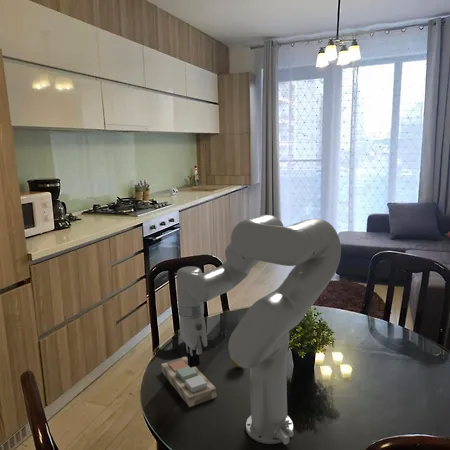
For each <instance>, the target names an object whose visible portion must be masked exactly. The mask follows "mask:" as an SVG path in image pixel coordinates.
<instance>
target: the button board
mask: <svg viewBox="0 0 450 450" xmlns="http://www.w3.org/2000/svg"><path fill="white" fill-rule="evenodd" d="M181 360H183V361H184V362H185V363H186V364H187V365H188V357H187V356H183V357H180V358H177V359H173V360H169V361H166V362H164V363H160V364H161V373H163V375H164V377H166V379H167V380H168V382H169V383H170V384H171V386H172V387H173V388H174V389H175V391H176V392H177V393H178V395H179V396H180V398H182V400H183V401H184V402H185V403H186V404H187V407H188V408H191V407H194V406H196V405H199V404H202V403H205V402H208V401H210V400H214V399H216V398H217V388H216V386H215V385H214V384H213V383H212V382H211V381H210V380H209V379H208V378H207V377H206V376H205V375H204V374H203V373H202V372H201V371H200V370H199V369H198V367H197V366H195V367H193V368H194V369H195V370H196V372H197V376H199V375H200V376H201V377H202V378H203V379H204V380H205V381H206V382H207V388H206V389H203V390H200V391H197V392H194V393H191V392H190V391H189V390H188V388H187V387H186V384H185V382H182V381H181V380H180V379H179V378H178V376H177V371H176V372H173V370H172V369H171V368H170V367H169V364H171V363H175V362H178V361H181Z"/></svg>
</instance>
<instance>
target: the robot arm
mask: <svg viewBox="0 0 450 450" xmlns="http://www.w3.org/2000/svg"><path fill="white" fill-rule="evenodd" d="M337 232H338V231H336V229H335V228H334V226H333V225H332V224H331V223H330V222H328V221H326V220H324V219H320V218H310V219H309V218H308V219H305V220H301V221H299V222H295V223H293V224H290V225H288V226H285V225H284V224H283V223H282V221H281V219H279V218H277V216H274V215H271V214H262V215H257V216H254V217H251V218H248V219H244V220H241V221H240V222H238V223H237V224H236V225H235V226H234V228H233V229H232V232H231V236H230V243H229V244H228V245H227V246H226V248H225V251H224V253H225V254H224V255H225V256H224V257H225V260H226V261H224V262H223V263H222V264H221V265H219V266H218V267H215V268H213V269H211V270H207V271H205V272H203V271H202V269H201V268H200V267H197V266H194V265H193V266H190V265H189V266H183V267H181V268H179V269H178V270H176V289H177V290H176V291H177V309H178V311H177V312H178V313H177V314H178V316H179V334H180V338H181V340H182V341H183V342H184V344H185V346H186V347H185V348H186V349H185V350H186V353H187V354H186V355H187V356H186V357H187V358H188V366H189V367H190V368H192V367H198V366H200V365H201V363H200V362H201V361H200V355H202V354H203V347H204V348H206V347H207V346H208V337H207V336H208V335H207V328H206V327H207V326H206V320H205V316H204V314H205V307H204V306H205V304H204V303H205V302H208V301H211V300H213V299H215V298H217V297H219V296H222V295H223V294H226V293H228V292H229V291H232V290H233V289H234V288H235V287H236V286H238V285H239V284H240V283H241V282H243V280H245V279H246V278H247V277H248V275H249V274H250V272H251V270H252V269H253V268H254V267H256V265H258V264H259V263H260V262H264V263H269V264H275V265H278V266H279V265H280V266H283V267H284V266H285V267H293V268H292V269H291V270H290V272H289V273H288V274H287V277H286V278H285V279H284V280H283V282H282V283H281V284H280V285H279V286H278V288H276V289H275V290H274V291H272V292H270V293H268V294H267V295H265V296H263V297H261V298H259V299H258V300H257V301H255V302H253V304H252V305H251V306H250V307H249V308H248V309H247V311H246V312H245V313H244V315H243V317H242V318H241V320H240V321H239V323H238V324H237V325H236V326H235V328H234V329H233V330H232V333H231V335H230V337H229V339H228V353H229V356H230V359H231V358H232V360H233V361H234V362H235V363H236V364H237V365H238V366H240V368H244V369H249V389H250V390H249V391H250V393H249V395H250V415H249V417H247V419H246V422H245V431H246V433H247V434H248V436H249V437H250V438H251V439H253V440H254V441H256V442H258V443H261V444H267V445H276V444H279V443H283V445H288V444H289V443H290V440H291V438H292V437H293V436H294V435H295V432H294V423H293V420H292V418H290V416H289V415H288V395H287V394H288V393H287V391H288V390H287V389H288V388H287V386H288V385H287V384H288V383H287V382H288V381H287V364H288V363H287V361H288V352H289V351H288V350H289V343H290V331H291V330H292V329H294V328H295V327H297V326H298V325H299V324H300V323H301V321H302V320H303V319H304V318H305V316H306V315H307V312H309V310H310V309H311V307H312V306H313V305H314V304H315V303H316V301H317V300H318V298H319V297H320V296H321V294H322V293H323V292H324V291H325V289H326V287H328V285H329V283H330V282H331V281H332V279H333V278H334V276H335V274H336V272H337V270H338V268H339V265H340V263H341V262H340V261H341V256H342V255H341V254H342V246H341V241H340V240H341V239H340V237H339V234H338V233H337ZM202 346H203V347H202Z"/></svg>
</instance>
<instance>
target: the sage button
mask: <svg viewBox="0 0 450 450" xmlns="http://www.w3.org/2000/svg"><path fill="white" fill-rule="evenodd" d="M177 376H178V378H179V379H180V380H181V381H182V382H185V380H187V379H190V378H193V377H196V376H197V372H196V370H195V369H194V368H193V367H192V368H190V367H189V366H187V367H184V368H181V369H178V370H177Z"/></svg>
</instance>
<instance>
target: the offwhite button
mask: <svg viewBox="0 0 450 450" xmlns="http://www.w3.org/2000/svg"><path fill="white" fill-rule="evenodd" d="M185 384H186V387H187V388H188V390H189V391H190V392H191V393H194V392H197V391H200V390H203V389H206V388H207V382H206V381H205V380H204V379H203V378H202V377H201V376H200V375H199V376H196V377H193V378H190V379H187V380H185Z"/></svg>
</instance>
